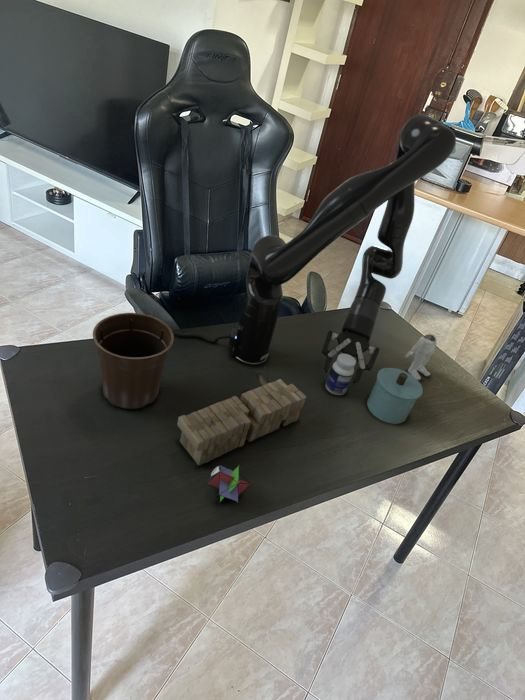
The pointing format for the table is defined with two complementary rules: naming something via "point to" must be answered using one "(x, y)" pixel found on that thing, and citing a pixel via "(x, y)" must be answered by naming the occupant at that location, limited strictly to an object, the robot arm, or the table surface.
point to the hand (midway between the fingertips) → (340, 377)
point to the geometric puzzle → (228, 483)
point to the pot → (394, 395)
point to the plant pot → (132, 357)
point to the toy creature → (422, 355)
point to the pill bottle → (340, 374)
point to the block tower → (239, 420)
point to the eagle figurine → (262, 378)
